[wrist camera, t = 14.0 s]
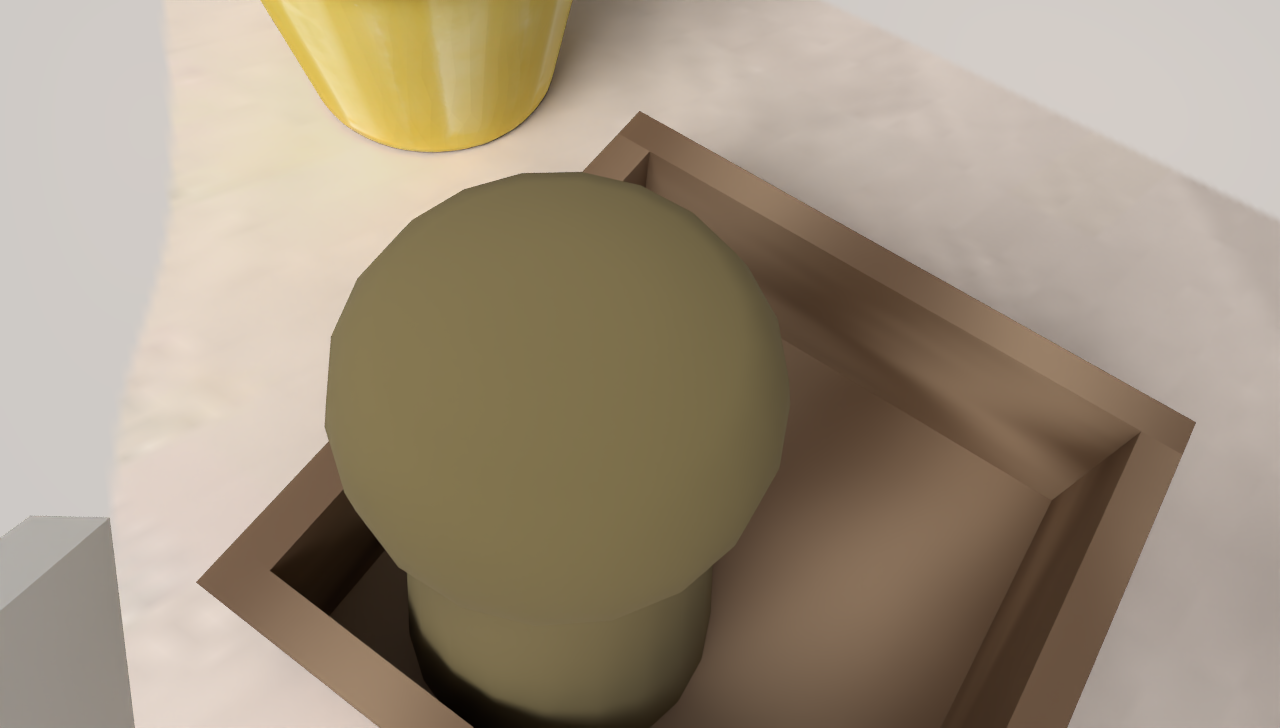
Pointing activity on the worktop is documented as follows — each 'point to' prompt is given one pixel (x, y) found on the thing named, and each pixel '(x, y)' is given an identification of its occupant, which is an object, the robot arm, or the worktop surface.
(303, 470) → the walnut crate
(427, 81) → the plant pot
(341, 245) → the worktop surface
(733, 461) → the cork
